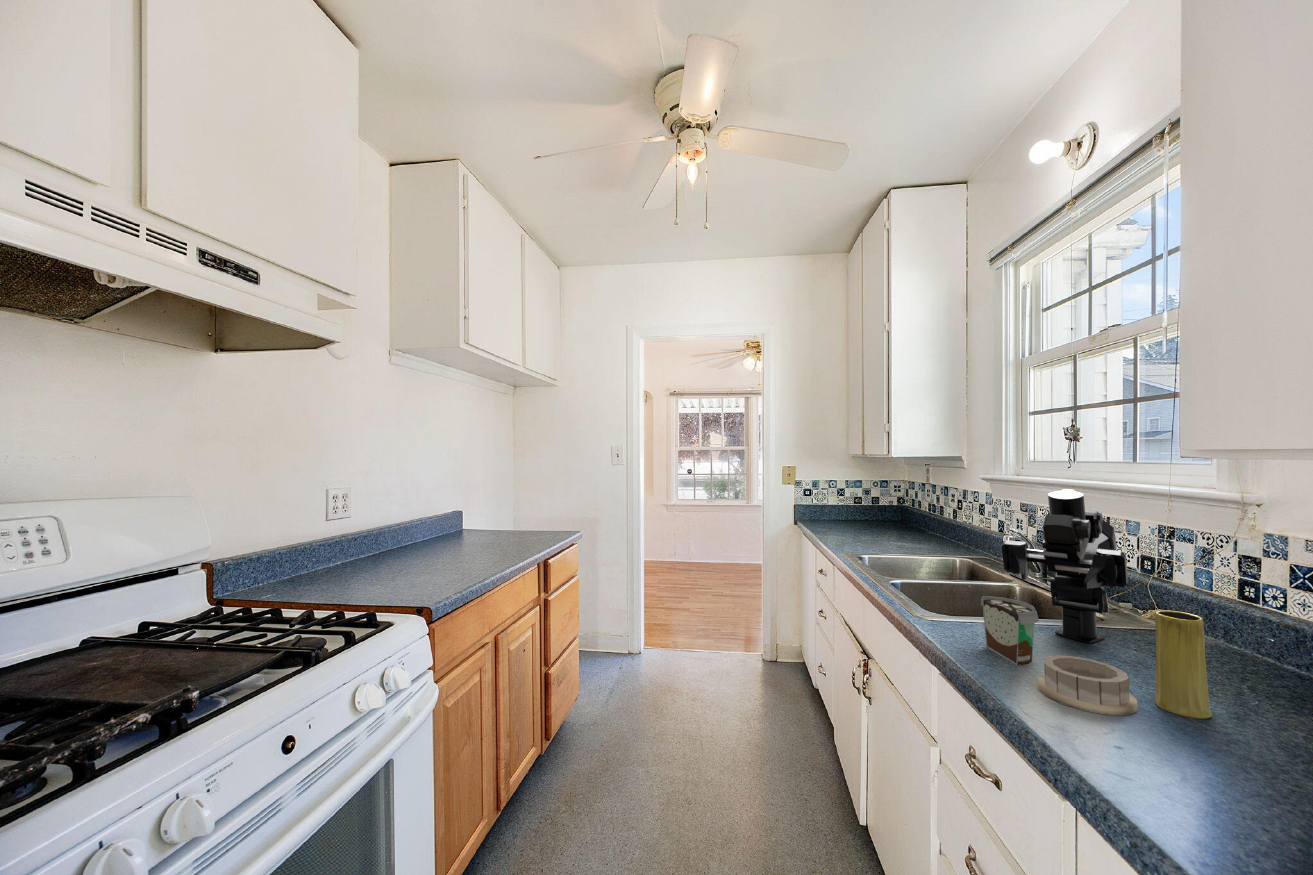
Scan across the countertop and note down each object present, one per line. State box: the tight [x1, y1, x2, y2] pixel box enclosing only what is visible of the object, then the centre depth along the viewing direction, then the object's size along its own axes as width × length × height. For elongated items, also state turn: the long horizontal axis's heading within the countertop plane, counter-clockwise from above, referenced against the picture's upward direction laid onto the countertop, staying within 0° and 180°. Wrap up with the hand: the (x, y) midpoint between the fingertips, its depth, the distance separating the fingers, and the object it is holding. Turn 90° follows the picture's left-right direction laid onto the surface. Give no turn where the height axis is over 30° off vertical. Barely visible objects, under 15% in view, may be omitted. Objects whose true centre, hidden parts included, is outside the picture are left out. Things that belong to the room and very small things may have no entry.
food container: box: [980, 595, 1040, 666], centre depth 101 cm, size 12×6×10 cm, turn 179°
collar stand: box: [1037, 655, 1138, 716], centre depth 84 cm, size 12×12×4 cm
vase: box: [1154, 610, 1212, 720], centre depth 80 cm, size 6×6×14 cm
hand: (1052, 581), depth 94 cm, fingers open, 9 cm apart
